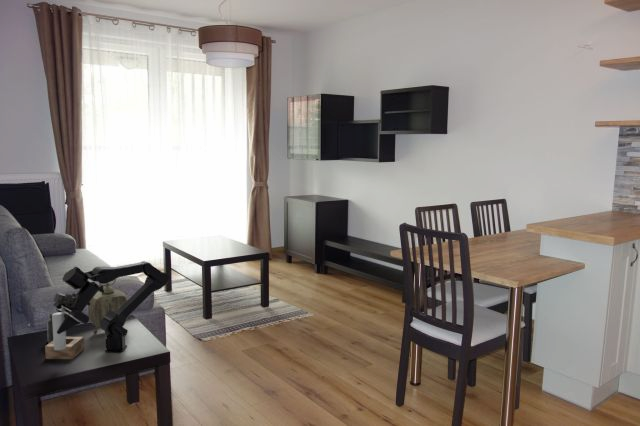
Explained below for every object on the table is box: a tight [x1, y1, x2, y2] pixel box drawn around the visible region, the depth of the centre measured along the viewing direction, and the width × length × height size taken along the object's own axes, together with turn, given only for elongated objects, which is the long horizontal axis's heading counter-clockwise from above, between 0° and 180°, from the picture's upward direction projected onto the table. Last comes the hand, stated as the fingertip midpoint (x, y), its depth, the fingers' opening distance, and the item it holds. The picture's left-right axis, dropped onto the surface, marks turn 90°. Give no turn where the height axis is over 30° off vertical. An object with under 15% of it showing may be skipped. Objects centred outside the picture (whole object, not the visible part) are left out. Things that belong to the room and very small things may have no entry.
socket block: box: [44, 336, 85, 360], centre depth 200 cm, size 10×10×5 cm
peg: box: [52, 312, 67, 350], centre depth 188 cm, size 4×4×13 cm
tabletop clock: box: [87, 278, 128, 334], centre depth 222 cm, size 14×9×25 cm, turn 133°
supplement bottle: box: [46, 310, 67, 344], centre depth 213 cm, size 7×7×12 cm
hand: (55, 331), depth 187 cm, fingers closed on peg, 4 cm apart
